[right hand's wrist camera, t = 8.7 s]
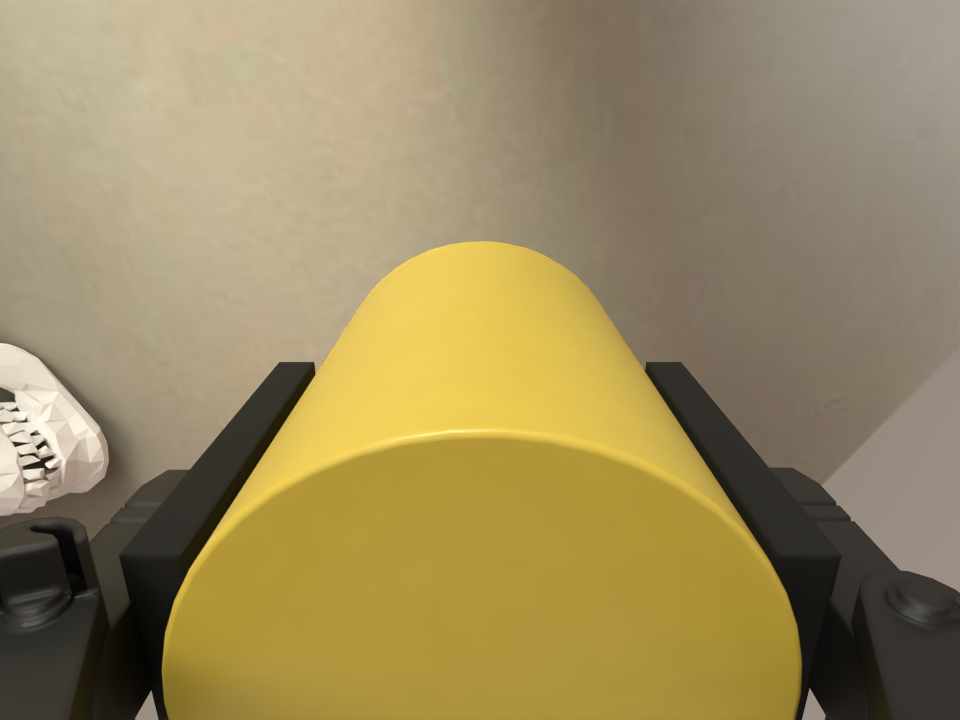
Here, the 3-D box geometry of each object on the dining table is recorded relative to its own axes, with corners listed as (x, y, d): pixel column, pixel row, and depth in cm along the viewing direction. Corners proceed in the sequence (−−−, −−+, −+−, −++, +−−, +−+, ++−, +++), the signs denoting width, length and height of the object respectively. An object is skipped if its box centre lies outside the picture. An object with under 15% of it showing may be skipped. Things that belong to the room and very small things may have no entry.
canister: (294, 416, 17) (63, 783, 8) (434, 181, 15) (355, 284, 5) (517, 538, 18) (557, 977, 9) (676, 339, 16) (948, 641, 7)
